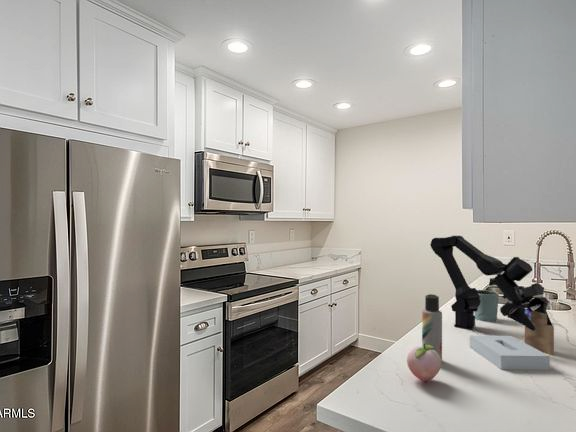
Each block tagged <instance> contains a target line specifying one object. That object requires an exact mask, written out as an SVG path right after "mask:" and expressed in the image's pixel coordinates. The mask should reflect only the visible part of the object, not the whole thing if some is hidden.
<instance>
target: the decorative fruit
mask: <svg viewBox="0 0 576 432" xmlns="http://www.w3.org/2000/svg"><path fill="white" fill-rule="evenodd" d="M433 349H435V348H434V347H433V346H431V345H425V344H424V346H423V347H422V346H416V347H413V348H412V349H411V350H410V351H409V352H408V353H407V356H406V357H407V358H406V364H407V367H408V369H409V371H410V372H411V373H412V375H413V376H414V377H416V379H419V380H420V381H423V382H425V383H426V382H429V381H431V380H433V379H434V378H435V377H436V376H437V375H438V373H439V372H440V370H441V367H442V362H441V358H440V356H439V354H438V353H437V352H436V351H435V350H433Z"/></svg>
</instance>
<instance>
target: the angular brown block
mask: <svg viewBox="0 0 576 432" xmlns="http://www.w3.org/2000/svg"><path fill="white" fill-rule="evenodd" d="M547 314H548V313H547ZM547 314H545V313H541V312H536V311H532V312H531V320H530V321H531V322H532V324H533V325H534V327H535V330H534V331H532V330H531V329H529V328H527V327H525V326H524V343H526V344H528V345H529V346H531V347H533V348H535V349H537V350H539V351H541V352H543V353H545V354H547V355H549V356H552V355H554V354H555V327H554V325H553V326H551V325H547Z"/></svg>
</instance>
